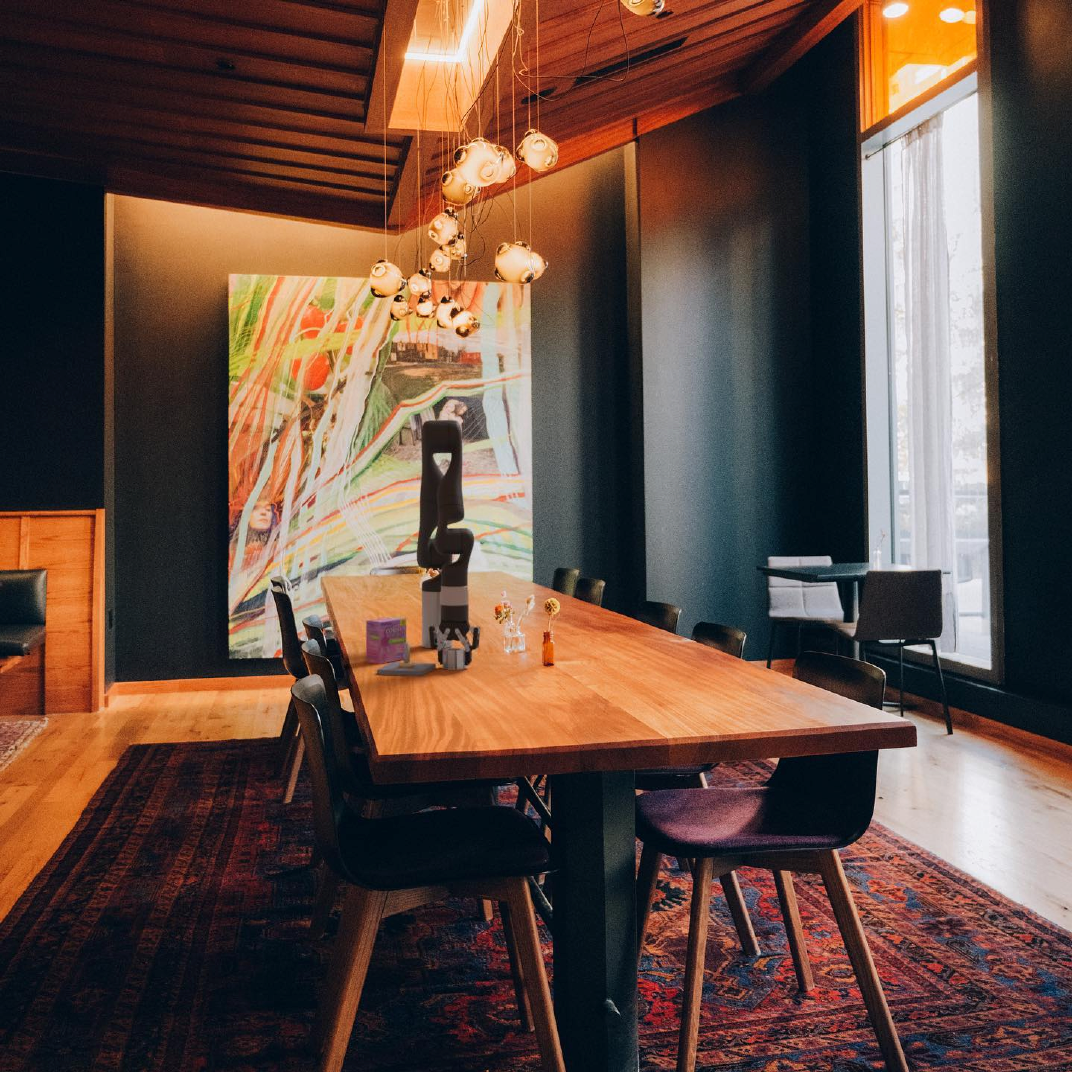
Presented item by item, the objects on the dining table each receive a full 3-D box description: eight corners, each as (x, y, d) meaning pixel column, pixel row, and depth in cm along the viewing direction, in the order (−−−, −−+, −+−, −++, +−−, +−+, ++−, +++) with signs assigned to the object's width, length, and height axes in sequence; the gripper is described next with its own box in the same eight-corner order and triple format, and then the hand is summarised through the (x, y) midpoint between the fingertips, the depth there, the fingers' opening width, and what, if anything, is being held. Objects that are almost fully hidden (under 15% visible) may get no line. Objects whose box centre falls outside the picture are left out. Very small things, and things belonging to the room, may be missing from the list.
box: (380, 664, 254) (379, 621, 254) (365, 662, 258) (365, 619, 257) (407, 659, 263) (407, 617, 262) (393, 657, 266) (392, 616, 266)
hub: (447, 665, 253) (447, 647, 252) (468, 666, 251) (468, 648, 251) (440, 669, 247) (440, 650, 246) (462, 670, 245) (462, 651, 245)
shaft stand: (393, 666, 251) (393, 639, 251) (435, 667, 249) (435, 640, 249) (376, 674, 240) (376, 645, 239) (421, 676, 237) (421, 647, 237)
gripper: (484, 601, 250) (484, 663, 251) (433, 600, 253) (433, 661, 254) (476, 604, 243) (476, 668, 244) (424, 603, 246) (424, 666, 247)
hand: (454, 664), depth 249 cm, fingers open, 6 cm apart
